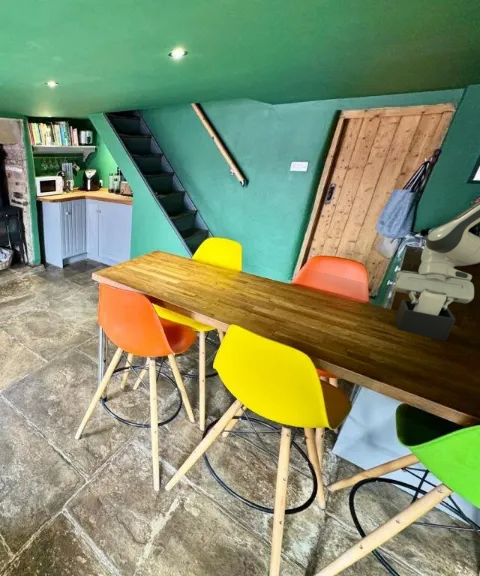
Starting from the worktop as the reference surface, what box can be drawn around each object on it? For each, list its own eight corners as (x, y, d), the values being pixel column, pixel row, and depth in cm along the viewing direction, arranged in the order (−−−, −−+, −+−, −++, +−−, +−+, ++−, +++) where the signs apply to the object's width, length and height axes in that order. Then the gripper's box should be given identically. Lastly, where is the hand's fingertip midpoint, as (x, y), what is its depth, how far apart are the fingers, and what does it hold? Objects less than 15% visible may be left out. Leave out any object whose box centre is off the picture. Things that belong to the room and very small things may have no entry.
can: (429, 319, 116) (444, 290, 111) (436, 326, 110) (452, 296, 106) (407, 315, 119) (420, 287, 114) (413, 321, 113) (426, 292, 109)
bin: (438, 327, 117) (448, 307, 114) (445, 341, 108) (456, 319, 104) (394, 318, 124) (402, 299, 121) (397, 330, 115) (405, 310, 112)
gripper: (400, 265, 119) (393, 296, 115) (478, 276, 107) (474, 310, 103) (395, 273, 124) (388, 302, 120) (469, 284, 112) (464, 317, 108)
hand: (428, 306), depth 112 cm, fingers closed on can, 6 cm apart
